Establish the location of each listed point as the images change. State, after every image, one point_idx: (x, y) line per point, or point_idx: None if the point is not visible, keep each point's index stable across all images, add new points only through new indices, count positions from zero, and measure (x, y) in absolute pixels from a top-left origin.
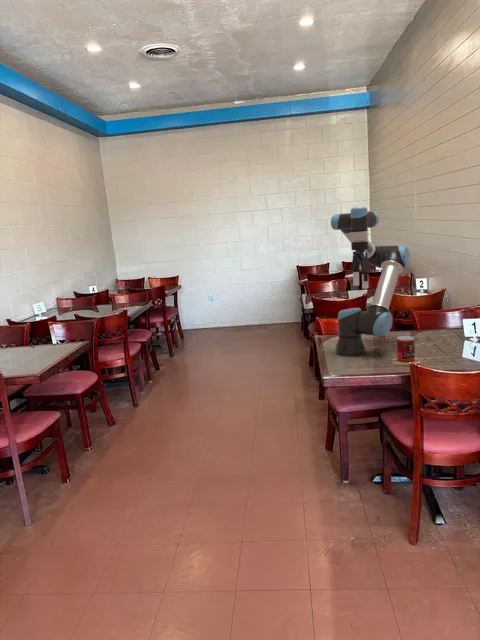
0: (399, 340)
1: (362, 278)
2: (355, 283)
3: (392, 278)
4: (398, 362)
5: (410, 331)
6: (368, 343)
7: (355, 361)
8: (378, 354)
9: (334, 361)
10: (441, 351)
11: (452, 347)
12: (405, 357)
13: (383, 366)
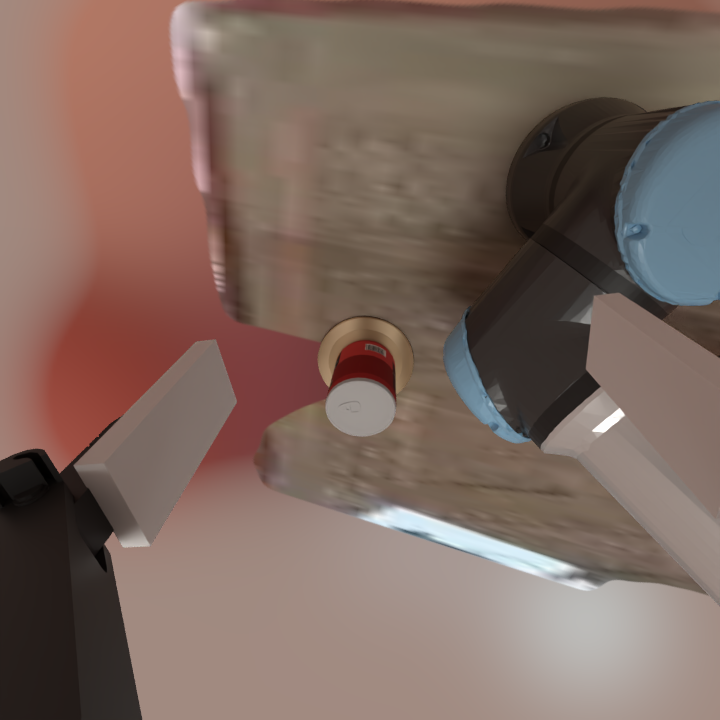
0: (342, 380)
1: (123, 418)
2: (605, 333)
3: None
4: (344, 335)
5: None
6: None
7: (415, 180)
8: None
9: (437, 71)
10: (471, 483)
11: (508, 520)
12: (335, 364)
13: (324, 278)
